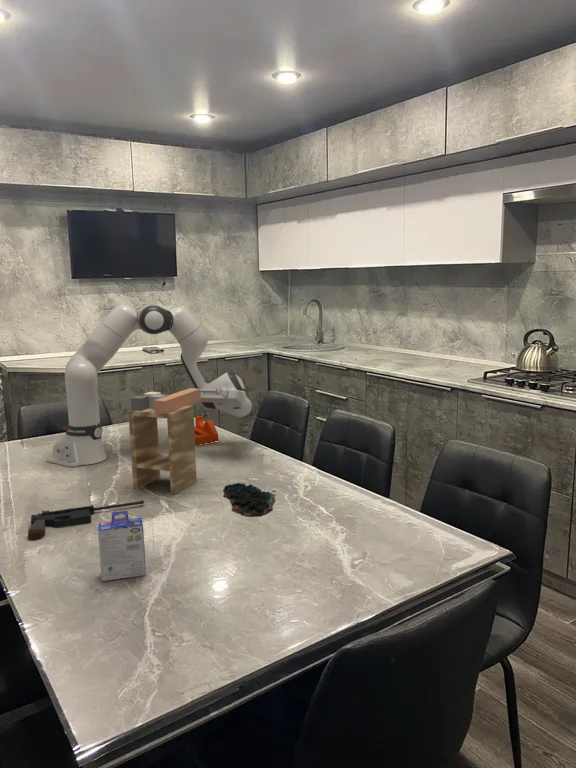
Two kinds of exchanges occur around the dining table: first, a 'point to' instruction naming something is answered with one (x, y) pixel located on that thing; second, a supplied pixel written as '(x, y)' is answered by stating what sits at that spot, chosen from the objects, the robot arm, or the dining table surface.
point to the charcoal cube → (140, 403)
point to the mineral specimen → (249, 500)
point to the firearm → (65, 518)
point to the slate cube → (154, 397)
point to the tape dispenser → (204, 431)
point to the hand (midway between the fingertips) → (205, 390)
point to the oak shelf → (147, 448)
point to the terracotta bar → (176, 400)
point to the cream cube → (151, 394)
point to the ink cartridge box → (121, 547)
